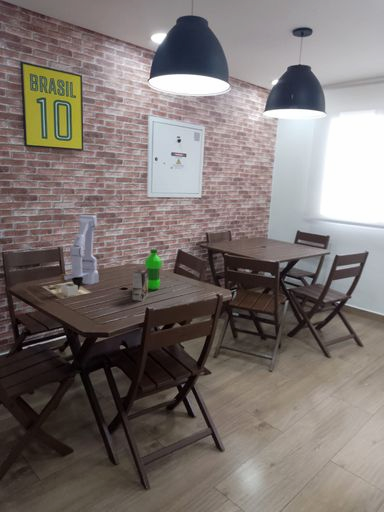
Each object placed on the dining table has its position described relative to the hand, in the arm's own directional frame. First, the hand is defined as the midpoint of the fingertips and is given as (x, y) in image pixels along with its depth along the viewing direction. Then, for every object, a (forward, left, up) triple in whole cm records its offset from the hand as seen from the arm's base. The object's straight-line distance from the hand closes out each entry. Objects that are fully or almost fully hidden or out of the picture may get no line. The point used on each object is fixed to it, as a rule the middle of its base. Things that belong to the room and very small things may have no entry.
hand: (77, 289), depth 212 cm
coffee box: (-26, +26, -3) cm, 37 cm away
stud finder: (+5, 0, -2) cm, 5 cm away
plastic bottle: (-43, +15, -3) cm, 46 cm away
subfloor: (+3, -8, -3) cm, 9 cm away
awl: (+1, -17, -2) cm, 17 cm away
